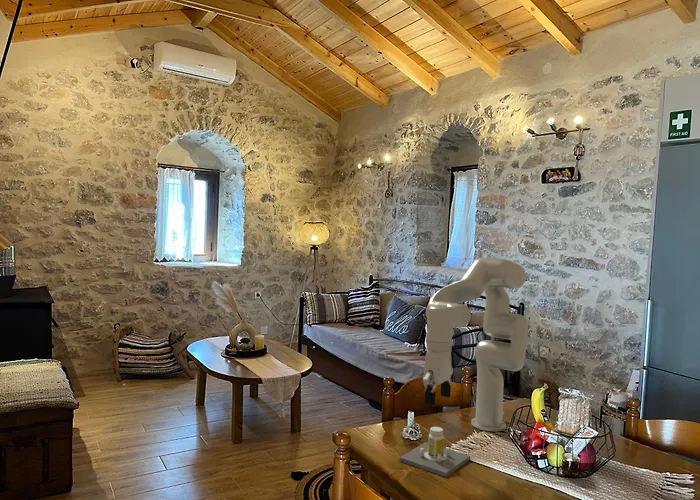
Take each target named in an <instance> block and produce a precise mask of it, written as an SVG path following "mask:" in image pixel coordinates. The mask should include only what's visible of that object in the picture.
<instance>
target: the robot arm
mask: <svg viewBox="0 0 700 500" xmlns="http://www.w3.org/2000/svg"><path fill="white" fill-rule="evenodd" d="M526 279H527V276H526V271H525V269H524V267H523V266H522V265H520V264H518V263H517V262H513V261H511V260H508V259H505V258H495V257H494V258H493V257H492V258H490V257H479V258H477V259H475V260H473V262H472V264H471V265H469V267H468V268H467V270H466V272H465V273H464V274H463V275H462V277H461V278H460V279H459V280H457V281H454V282H453V283H451V284H448V285H446V286H444V287H441V288H440V289H439V290H438V291H436V292H435V294H433V296H432V297H431V299H430V300H429V302H428V304H427V305H426V309H425V317H426V319H427V331H426V332H427V334H426V336H427V337H426V352H425V357H424V358H425V359H424V365H423V378H422V383H423V385H422V386H423V388H424V394H425V395H424V403H425V404H426V405H431V406H435V405H436V391H435V390H436V387H437V386H438V385H440V396H441V397H445V398H450V397H451V391H452V388H451V387H452V386H451V385H452V378H453V373H454V368H453V366H452V365H453V364H452V348H453V347H452V346H453V328H464V327H466V326H468V323H470V321H471V318H472V312H471V310H470V308H469V306H467V305H466V304H464V303H466V302H470V301H474V300H477V299H479V298H480V297H481V296H482V295H483V292H484V293H485V305H484V306H485V307H484V315H483V321H482V322H483V325H482V328H483V332H484V334H485V335H487V336H489V337H492V338H498V339H499V338H500V339H504V340H505V339H506V340H510V343H509V342H504V341H498V340H491V339H490V340H489V339H483V340H481V341H479V342H478V343H477V344H476V347H475V353H474V354H475V361H476V374H477V375H476V398H475V399H476V400H475V417H473V418H472V419H471V421H470V424H471V425H472V427H473V428H476V429H478V430H481V431H486V432H502V431H505V430H506V429H507V424H506V423H507V422H505V421H503V415H505V411H504V410H503V407H504V405H503V403H504V386H505V385H504V376H503V374H502V373H503V372H501V370H505V371H512V372H518V371H519V372H520V371H521V370H522V368H523V367H524V364H525V359H526V349H527V343H528V342H527V341H528V333H529V325H528V324H529V323H528V321H527V318H526V317H525V316H524V315H522V314H519V313H513V312H509V311H510V302H511V299H510V296H509V295H508V294H509V293H508V292H507V290H506V289H520V288H522V286H523V285H524V284H525V282H526ZM431 385H432V386H431Z"/></svg>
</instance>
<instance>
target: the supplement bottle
mask: <svg viewBox="0 0 700 500" xmlns="http://www.w3.org/2000/svg"><path fill="white" fill-rule="evenodd" d="M427 443H428V455H429V456H430V457H432V458H437V454H438V453H440V454H441V458H442V457H443V456H444V448H445V447H444V446H445V436H444V429H443V428H442V427H440V426H432V427H430V429H429V434H428V441H427Z"/></svg>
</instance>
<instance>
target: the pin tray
mask: <svg viewBox="0 0 700 500" xmlns="http://www.w3.org/2000/svg"><path fill="white" fill-rule="evenodd" d="M469 461H471V455H469V454H466V453H462V452H459V451H456V450H452V449H451V447H444V456H443V457H442V458H441V454H440V453H438V454H437V458H432V457H430V456H429V455H428V441H425V442H424V443H422V444H420V445H418V446H416V447H415V448H413V449H412V450H410V451H408V452H406V453H404V454H403V455H401V456H399V462H401V463H404V464H407V465H410V466H412V467H416V468H419V469H421V470H424V471H427V472H431V473H433V474H436V475H438V476H440V477H445V478H447V477H449V476H450V475H451V474H452V473H453V472H455V471H456V470H458V469H459V468H460V467H462V466H463V465H465V464H466V463H467V462H469Z"/></svg>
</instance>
